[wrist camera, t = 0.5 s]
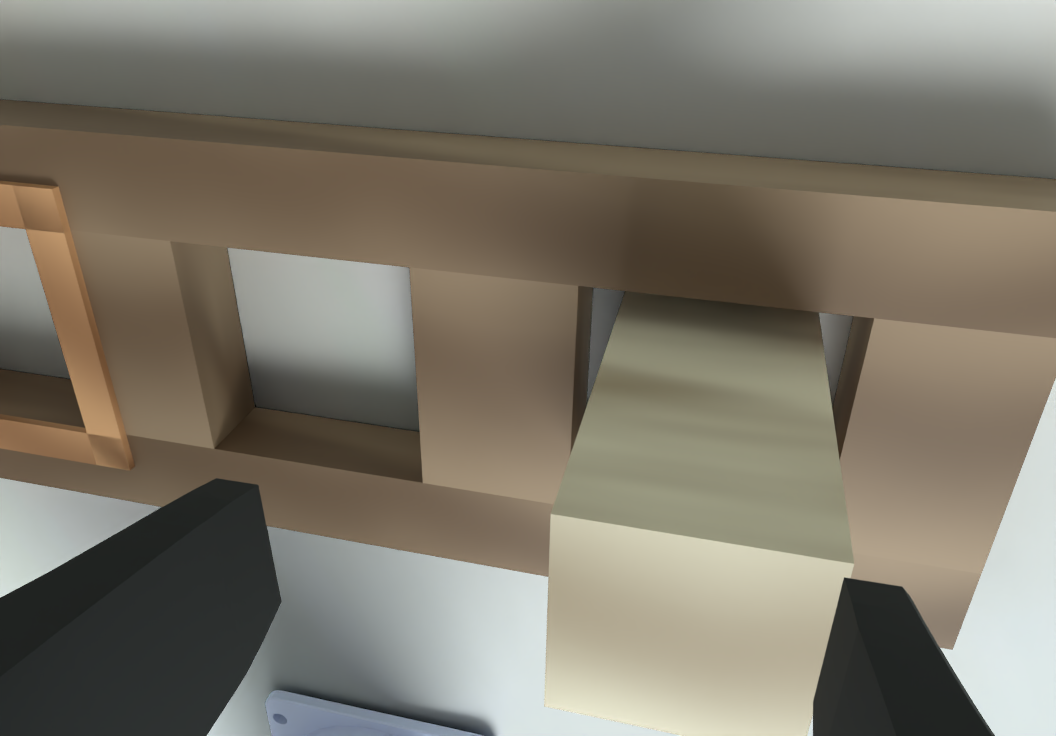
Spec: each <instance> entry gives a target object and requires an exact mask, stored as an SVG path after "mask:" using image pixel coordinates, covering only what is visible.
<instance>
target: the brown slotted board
mask: <svg viewBox="0 0 1056 736" xmlns="http://www.w3.org/2000/svg"><path fill="white" fill-rule="evenodd" d="M0 226H2V227H11V228H21V229H26V232H27V236H28V239H29V242H30V246H31V249H32V252H33V255H34V259H35V262H36V265H37V269H38V272H39V275H40V279H41V282H42V285H43V289H44V292H45V295H46V299H47V302H48V305H49V309H50V312H51V315H52V319H53V322H54V325H55V329H56V332H57V335H58V339H59V342H60V345H61V349H62V352H63V355H64V358H65V362H66V365H67V368H68V372H69V375H70V378H71V379H64V378H57V377H51V376H44V375H37V374H31V373H24V372H17V371H11V370H4V369H0V478H5V479H10V480H16V481H21V482H27V483H32V484H38V485H44V486H49V487H55V488H60V489H66V490H71V491H77V492H82V493H88V494H93V495H99V496H104V497H110V498H116V499H121V500H127V501H132V502H138V503H143V504H149V505H154V506H160V507H164V506H165V505H167V504H169V503H171V502H172V501H174V500H176V499H178V498H179V497H181V496H183V495H185V494H187V493H188V492H190V491H192V490H194V489H196V488H198V487H200V486H202V485H204V484H206V483H208V482H210V481H212V480H214V479H216V478H219V479H225V480H231V481H238V482H244V483H250V484H257V485H259V490H260V495H261V501H262V506H263V511H264V516H265V521H266V526H270V527H276V528H282V529H287V530H293V531H298V532H304V533H309V534H315V535H320V536H326V537H331V538H337V539H342V540H348V541H354V542H359V543H365V544H370V545H376V546H381V547H387V548H392V549H398V550H403V551H409V552H414V553H420V554H425V555H431V556H437V557H442V558H448V559H453V560H459V561H464V562H470V563H475V564H481V565H486V566H492V567H497V568H503V569H508V570H514V571H520V572H525V573H531V574H536V575H542V576H547V577H549V549H550V519H551V511H552V508H553V505H554V502H555V499H556V496H557V494H558V491H559V488H560V485H561V482H562V479H563V476H564V473H565V470H566V467H567V464H568V461H569V458H570V455H571V452H572V449H573V446H574V443H575V440H576V437H577V434H578V431H579V428H580V425H581V422H582V419H583V416H584V413H585V410H586V404H587V387H588V369H589V351H590V333H591V316H592V298H593V288H602V289H611V290H620V291H629V292H638V293H647V294H656V295H665V296H674V297H684V298H693V299H702V300H711V301H720V302H729V303H738V304H747V305H757V306H766V307H775V308H784V309H793V310H802V311H811V312H820V313H829V314H839V315H848V316H854V317H853V321H852V326H851V330H850V334H849V339H848V343H847V347H846V352H845V356H844V360H843V365H842V369H841V374H840V378H839V382H838V387H837V391H836V395H835V400H834V404H833V408H832V410H833V417H834V424H835V431H836V438H837V445H838V452H839V459H840V466H841V473H842V480H843V488H844V495H845V502H846V509H847V516H848V523H849V530H850V537H851V544H852V551H853V558H854V567H853V571H852V574H851V579H858V580H864V581H870V582H877V583H883V584H889V585H896V586H902V587H903V588H904V589H905V590H906V592H907V593H908V594H909V595H910V597H911V599H912V600H913V602H914V604H915V606H916V607H917V609H918V611H919V613H920V614H921V616H922V618H923V620H924V621H925V623H926V625H927V627H928V628H929V630H930V632H931V634H932V635H933V637H934V639H935V640H936V642H937V644H938V646H939V647H940V648H946V649H951V650H953V647H954V644H955V642H956V639H957V636H958V634H959V631H960V629H961V626H962V623H963V621H964V618H965V615H966V613H967V610H968V607H969V605H970V602H971V600H972V597H973V594H974V592H975V589H976V586H977V584H978V581H979V578H980V576H981V573H982V571H983V568H984V565H985V563H986V560H987V557H988V555H989V552H990V549H991V547H992V544H993V542H994V539H995V536H996V534H997V531H998V528H999V526H1000V523H1001V520H1002V518H1003V515H1004V513H1005V510H1006V507H1007V505H1008V502H1009V499H1010V497H1011V494H1012V491H1013V489H1014V486H1015V484H1016V481H1017V478H1018V476H1019V473H1020V470H1021V468H1022V465H1023V462H1024V460H1025V457H1026V455H1027V452H1028V449H1029V447H1030V444H1031V441H1032V439H1033V436H1034V433H1035V431H1036V428H1037V426H1038V423H1039V420H1040V418H1041V415H1042V412H1043V410H1044V407H1045V404H1046V402H1047V399H1048V397H1049V394H1050V391H1051V389H1052V386H1053V383H1054V381H1055V378H1056V179H1046V178H1033V177H1020V176H1007V175H993V174H980V173H967V172H954V171H940V170H927V169H914V168H901V167H887V166H874V165H861V164H848V163H834V162H821V161H808V160H795V159H781V158H768V157H755V156H742V155H728V154H715V153H702V152H689V151H675V150H662V149H649V148H636V147H622V146H609V145H596V144H583V143H569V142H556V141H543V140H530V139H516V138H503V137H490V136H477V135H463V134H450V133H437V132H424V131H410V130H397V129H384V128H371V127H357V126H344V125H331V124H318V123H304V122H291V121H278V120H265V119H251V118H238V117H225V116H212V115H198V114H185V113H172V112H159V111H145V110H132V109H119V108H106V107H92V106H79V105H66V104H53V103H39V102H26V101H13V100H0ZM227 247H228V248H237V249H246V250H255V251H264V252H273V253H282V254H292V255H301V256H310V257H319V258H328V259H337V260H346V261H355V262H365V263H374V264H383V265H392V266H401V267H409V268H410V285H411V301H412V317H413V333H414V349H415V365H416V381H417V397H418V413H419V429H420V432H416V431H410V430H403V429H396V428H390V427H383V426H376V425H370V424H363V423H356V422H350V421H343V420H337V419H330V418H323V417H317V416H310V415H303V414H297V413H290V412H283V411H277V410H270V409H263V408H257V407H255V404H254V399H253V393H252V387H251V382H250V376H249V370H248V365H247V359H246V353H245V348H244V342H243V336H242V331H241V325H240V319H239V314H238V308H237V303H236V297H235V291H234V286H233V280H232V274H231V269H230V263H229V257H228V252H227Z"/></svg>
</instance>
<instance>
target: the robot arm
mask: <svg viewBox="0 0 1056 736" xmlns="http://www.w3.org/2000/svg"><path fill="white" fill-rule="evenodd" d="M280 604H281V597H280V592H279V587H278V582H277V577H276V572H275V567H274V562H273V557H272V551H271V546H270V541H269V536H268V531H267V526H266V521H265V516H264V511H263V506H262V501H261V495H260V490H259V485H257V484H250V483H244V482H238V481H231V480H225V479H219V478H216V479H214V480H212V481H210V482H208V483H206V484H204V485H202V486H200V487H198V488H196V489H194V490H192V491H190V492H188V493H187V494H185V495H183V496H181V497H179V498H178V499H176V500H174V501H172V502H171V503H169V504H167V505H165V506H164V507H162V508H160V509H158V510H157V511H155V512H153V513H151V514H150V515H148V516H146V517H144V518H143V519H141V520H139V521H137V522H136V523H134V524H132V525H131V526H129V527H127V528H125V529H124V530H122V531H120V532H118V533H117V534H115V535H113V536H111V537H110V538H108V539H106V540H104V541H103V542H101V543H99V544H97V545H96V546H94V547H92V548H90V549H89V550H87V551H85V552H83V553H82V554H80V555H78V556H76V557H75V558H73V559H71V560H69V561H68V562H66V563H64V564H62V565H61V566H59V567H57V568H55V569H54V570H52V571H50V572H48V573H46V574H45V575H43V576H41V577H39V578H37V579H35V580H33V581H31V582H29V583H28V584H26V585H24V586H22V587H20V588H18V589H16V590H14V591H12V592H11V593H9V594H7V595H5V596H3V597H1V598H0V736H207V734H208V733H209V731H210V729H211V728H212V726H213V725H214V723H215V722H216V720H217V719H218V717H219V716H220V714H221V713H222V711H223V709H224V708H225V706H226V705H227V703H228V702H229V700H230V699H231V697H232V696H233V694H234V692H235V691H236V689H237V688H238V686H239V685H240V683H241V681H242V680H243V678H244V677H245V675H246V673H247V672H248V670H249V668H250V666H251V664H252V662H253V660H254V658H255V656H256V654H257V652H258V650H259V648H260V646H261V644H262V642H263V640H264V638H265V636H266V634H267V632H268V629H269V627H270V625H271V623H272V621H273V619H274V617H275V614H276V612H277V610H278V608H279V606H280ZM265 706H266V711H267V716H268V720H269V725H270V730H271V734H272V736H483V735H480V734H475V733H471V732H466V731H462V730H457V729H453V728H448V727H444V726H439V725H435V724H430V723H426V722H421V721H417V720H412V719H408V718H403V717H399V716H394V715H390V714H385V713H381V712H376V711H372V710H367V709H363V708H358V707H354V706H349V705H345V704H340V703H336V702H331V701H327V700H322V699H318V698H313V697H309V696H305V695H300V694H296V693H291V692H287V691H282V690H275V691H272V692H271V693H270V695H269V696H268V698H267V699H266V701H265ZM813 736H995V735H994V734H993V732H992V731H991V729H990V728H989V726H988V725H987V723H986V722H985V720H984V719H983V717H982V716H981V714H980V712H979V711H978V709H977V708H976V706H975V705H974V703H973V701H972V700H971V698H970V697H969V695H968V693H967V692H966V690H965V689H964V687H963V685H962V684H961V682H960V680H959V679H958V677H957V675H956V674H955V672H954V671H953V669H952V667H951V666H950V664H949V662H948V661H947V659H946V657H945V656H944V654H943V652H942V651H941V649H940V647H939V646H938V644H937V642H936V640H935V639H934V637H933V635H932V634H931V632H930V630H929V628H928V627H927V625H926V623H925V621H924V620H923V618H922V616H921V614H920V613H919V611H918V609H917V607H916V606H915V604H914V602H913V600H912V599H911V597H910V595H909V594H908V593H907V592H906V590H905V589H904V588H903V587H902V586H896V585H889V584H883V583H877V582H870V581H864V580H858V579H851V578H845V577H844V579H843V583H842V587H841V592H840V596H839V600H838V604H837V608H836V612H835V616H834V620H833V624H832V628H831V632H830V636H829V640H828V644H827V648H826V652H825V656H824V660H823V664H822V668H821V672H820V676H819V680H818V684H817V688H816V692H815V696H814V700H813Z"/></svg>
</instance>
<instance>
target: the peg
mask: <svg viewBox="0 0 1056 736" xmlns="http://www.w3.org/2000/svg"><path fill="white" fill-rule="evenodd" d="M853 567H854V558H853V551H852V544H851V537H850V530H849V523H848V516H847V509H846V502H845V495H844V488H843V480H842V473H841V466H840V459H839V452H838V445H837V438H836V431H835V424H834V417H833V410H832V403H831V396H830V389H829V382H828V375H827V368H826V361H825V354H824V347H823V340H822V332H821V325H820V318H819V312H811V311H802V310H793V309H784V308H775V307H766V306H757V305H747V304H738V303H729V302H720V301H711V300H702V299H693V298H684V297H674V296H665V295H656V294H647V293H638V292H629V291H625V293H624V296H623V299H622V302H621V305H620V308H619V311H618V314H617V317H616V320H615V323H614V326H613V329H612V332H611V335H610V338H609V341H608V344H607V347H606V350H605V353H604V356H603V359H602V362H601V365H600V368H599V371H598V374H597V377H596V380H595V383H594V386H593V389H592V392H591V395H590V398H589V401H588V404H587V407H586V410H585V413H584V416H583V419H582V422H581V425H580V428H579V431H578V434H577V437H576V440H575V443H574V446H573V449H572V452H571V455H570V458H569V461H568V464H567V467H566V470H565V473H564V476H563V479H562V482H561V485H560V488H559V491H558V494H557V496H556V499H555V502H554V505H553V508H552V511H551V519H550V549H549V579H548V609H547V639H546V669H545V699H544V707H549V708H554V709H559V710H563V711H568V712H573V713H578V714H582V715H587V716H592V717H596V718H601V719H606V720H611V721H615V722H620V723H625V724H630V725H634V726H639V727H644V728H648V729H653V730H658V731H663V732H667V733H672V734H677V735H682V736H807V734H808V730H809V726H810V723H811V719H812V716H813V700H814V696H815V692H816V688H817V684H818V680H819V676H820V672H821V668H822V664H823V660H824V656H825V652H826V648H827V644H828V640H829V636H830V632H831V628H832V624H833V620H834V616H835V612H836V608H837V604H838V600H839V596H840V592H841V587H842V583H843V579H844V577H845V578H851V574H852V571H853Z"/></svg>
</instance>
